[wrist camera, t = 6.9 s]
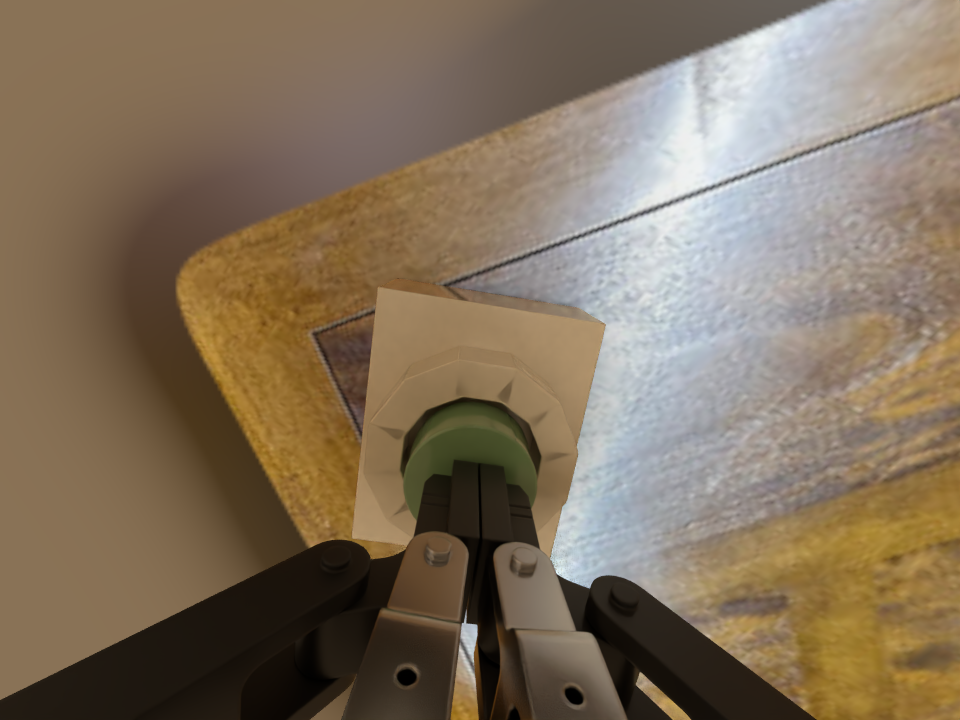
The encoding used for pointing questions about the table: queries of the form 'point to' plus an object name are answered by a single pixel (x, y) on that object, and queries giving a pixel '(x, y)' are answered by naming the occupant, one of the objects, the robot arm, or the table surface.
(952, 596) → the table surface
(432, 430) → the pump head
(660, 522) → the table surface
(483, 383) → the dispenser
